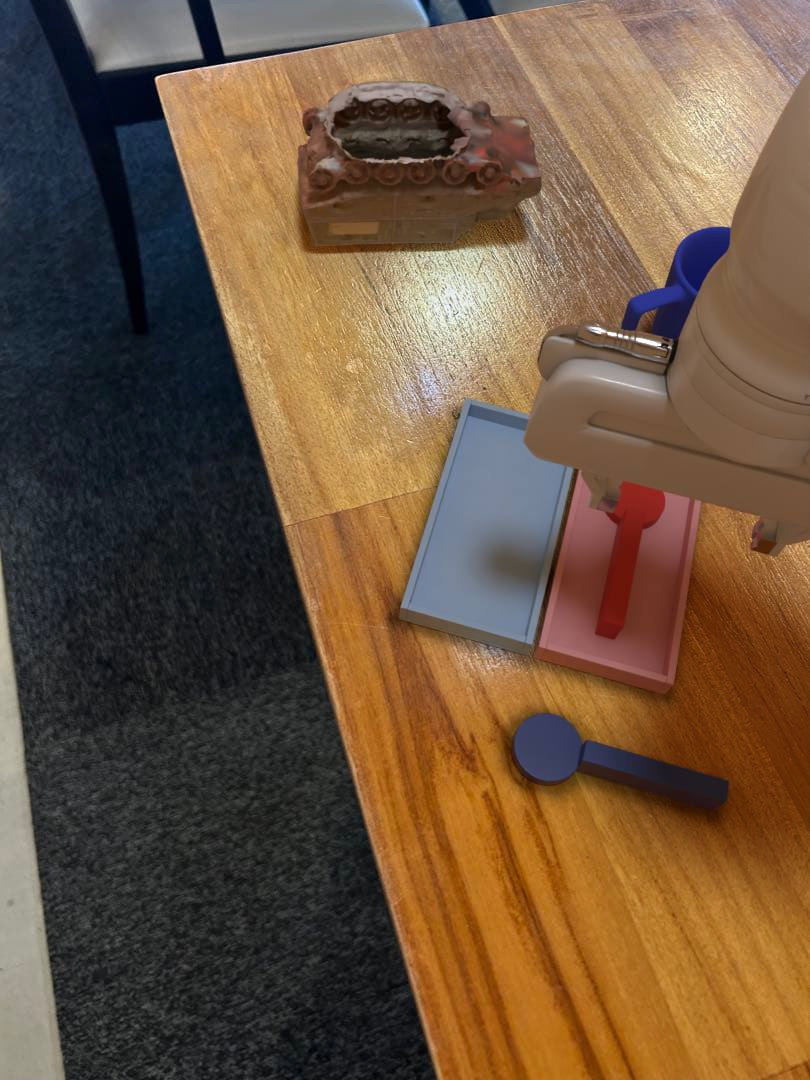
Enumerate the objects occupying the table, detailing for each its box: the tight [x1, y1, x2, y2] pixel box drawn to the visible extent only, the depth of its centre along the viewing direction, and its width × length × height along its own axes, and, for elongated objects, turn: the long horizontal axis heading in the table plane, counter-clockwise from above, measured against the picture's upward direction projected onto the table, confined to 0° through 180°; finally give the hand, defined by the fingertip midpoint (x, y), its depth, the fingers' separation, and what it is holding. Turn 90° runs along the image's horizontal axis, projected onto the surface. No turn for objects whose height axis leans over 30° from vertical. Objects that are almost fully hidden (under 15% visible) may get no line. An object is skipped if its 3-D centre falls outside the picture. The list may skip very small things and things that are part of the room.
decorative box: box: [296, 79, 543, 248], centre depth 79 cm, size 13×20×10 cm, turn 89°
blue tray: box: [398, 397, 575, 656], centre depth 68 cm, size 9×18×2 cm, turn 164°
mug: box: [620, 226, 731, 340], centre depth 72 cm, size 8×12×10 cm
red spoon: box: [595, 481, 665, 640], centre depth 66 cm, size 13×4×2 cm, turn 164°
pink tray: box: [533, 469, 702, 696], centre depth 67 cm, size 9×18×2 cm, turn 164°
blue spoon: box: [510, 712, 730, 812], centre depth 60 cm, size 13×4×2 cm, turn 74°
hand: (681, 522), depth 55 cm, fingers open, 8 cm apart
